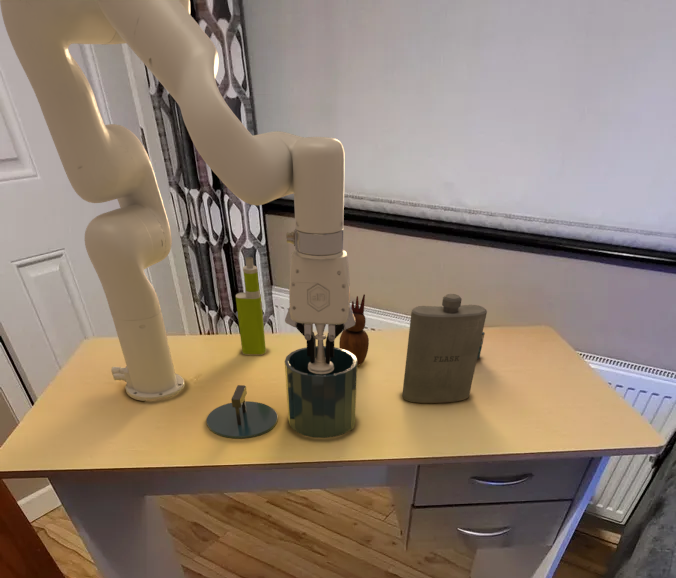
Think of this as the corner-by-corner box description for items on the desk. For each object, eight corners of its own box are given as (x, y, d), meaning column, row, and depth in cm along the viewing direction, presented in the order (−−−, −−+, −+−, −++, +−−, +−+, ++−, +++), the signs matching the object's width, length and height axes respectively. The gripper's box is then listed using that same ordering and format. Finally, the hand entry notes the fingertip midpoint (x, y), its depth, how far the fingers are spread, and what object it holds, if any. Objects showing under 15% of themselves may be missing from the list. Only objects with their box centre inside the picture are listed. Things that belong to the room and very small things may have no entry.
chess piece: (303, 371, 94) (301, 312, 87) (314, 361, 97) (312, 303, 90) (327, 376, 93) (327, 317, 86) (337, 365, 96) (338, 307, 89)
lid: (199, 439, 98) (192, 408, 94) (216, 404, 108) (211, 374, 103) (272, 443, 98) (269, 411, 93) (282, 407, 107) (280, 377, 103)
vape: (265, 355, 125) (257, 260, 111) (241, 354, 125) (229, 260, 111) (267, 349, 128) (259, 256, 113) (243, 348, 128) (232, 255, 113)
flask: (405, 404, 109) (417, 302, 94) (400, 392, 113) (410, 291, 98) (472, 402, 110) (495, 300, 95) (465, 389, 114) (485, 290, 99)
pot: (284, 438, 99) (280, 374, 90) (293, 405, 108) (290, 344, 99) (353, 441, 99) (355, 377, 89) (356, 408, 108) (358, 347, 98)
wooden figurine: (371, 362, 123) (375, 293, 112) (359, 370, 120) (362, 300, 109) (347, 355, 126) (349, 287, 115) (335, 363, 123) (336, 294, 111)
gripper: (265, 247, 78) (275, 367, 92) (369, 250, 78) (363, 371, 91) (273, 234, 83) (281, 350, 97) (370, 238, 83) (364, 354, 96)
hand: (320, 359), depth 94 cm, fingers closed on chess piece
